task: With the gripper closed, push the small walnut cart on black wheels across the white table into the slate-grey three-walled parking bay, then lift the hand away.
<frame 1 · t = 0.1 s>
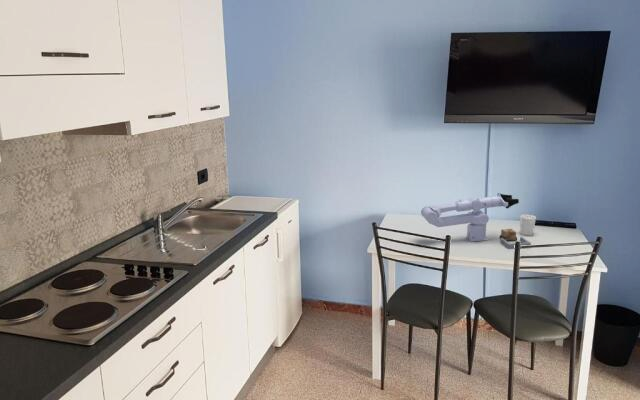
hand: (515, 199, 267), 22 cm above the table, tool horizontal, fingers open, 7 cm apart
cart: (508, 239, 269), on the table
white cup: (526, 233, 276), on the table
bay: (514, 244, 261), on the table
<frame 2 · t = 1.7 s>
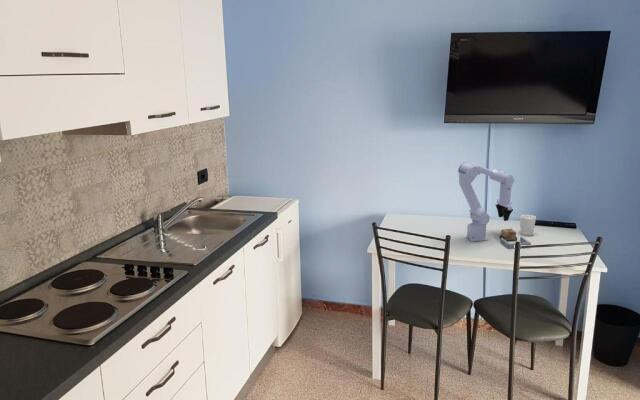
hand: (503, 218, 273), 9 cm above the table, tool pointing down, fingers open, 6 cm apart
nothing on the table moved.
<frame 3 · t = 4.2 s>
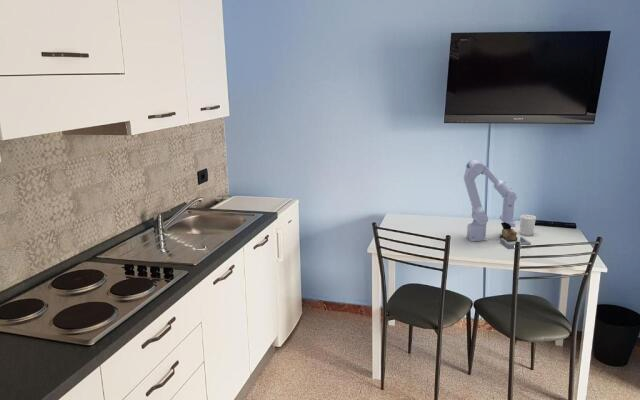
hand: (506, 235, 271), 1 cm above the table, tool pointing down, fingers closed, pressing on cart
cart: (508, 239, 268), on the table, touching gripper
everything else where it was.
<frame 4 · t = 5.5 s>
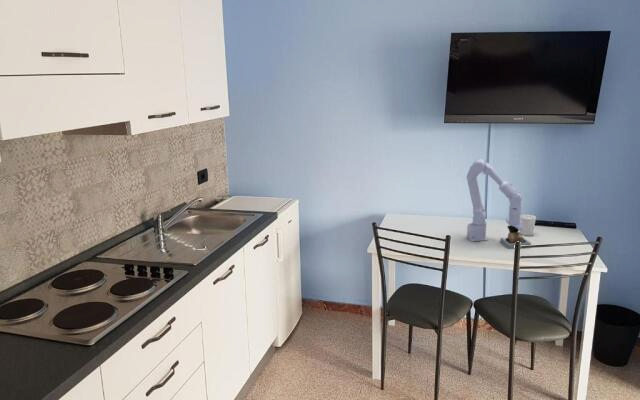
hand: (513, 239, 264), 2 cm above the table, tool pointing down, fingers closed, pressing on cart
cart: (514, 242, 263), on the table, tilted 17°, touching gripper
everything else where it was.
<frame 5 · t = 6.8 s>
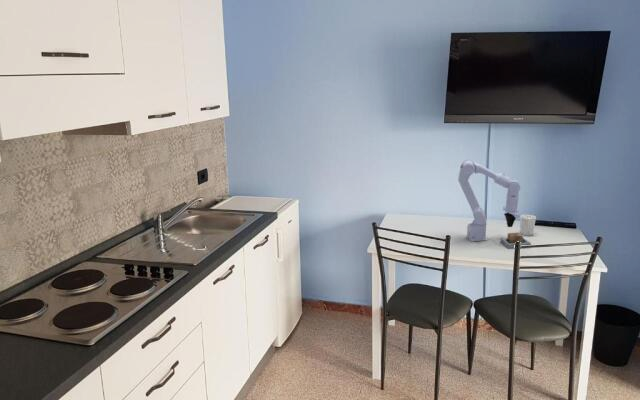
hand: (509, 226, 265), 8 cm above the table, tool pointing down, fingers closed
cart: (514, 243, 263), on the table
everything else where it was.
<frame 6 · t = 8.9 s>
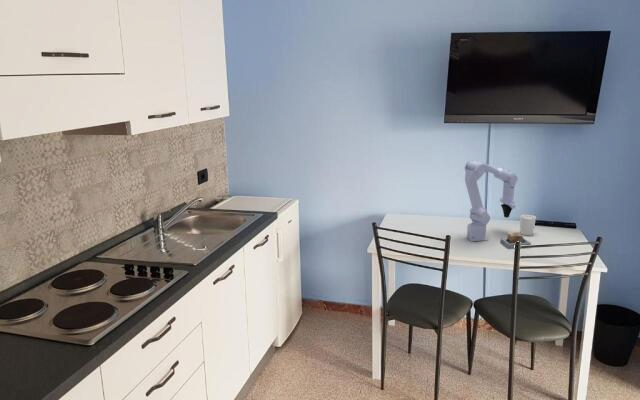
hand: (506, 217, 276), 9 cm above the table, tool pointing down, fingers closed
nothing on the table moved.
at the end: cart 2.2 cm off-centre on the bay, point 0.0 cm above the bay's base; cart tilted 0° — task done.
